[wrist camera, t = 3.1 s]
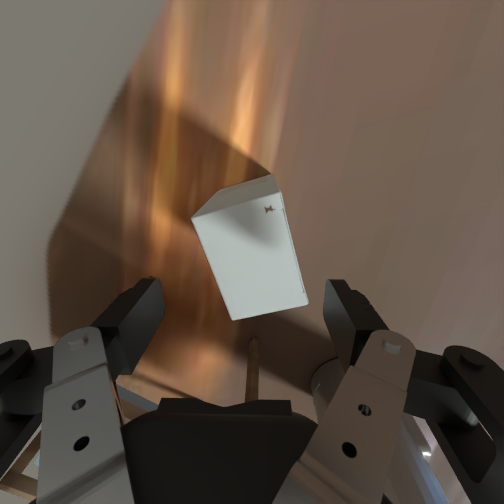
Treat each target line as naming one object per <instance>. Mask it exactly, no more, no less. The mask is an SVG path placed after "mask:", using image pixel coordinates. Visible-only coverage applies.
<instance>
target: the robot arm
mask: <svg viewBox="0 0 504 504" xmlns="http://www.w3.org/2000/svg"><path fill="white" fill-rule="evenodd" d="M164 313H165V304H164V298H163V293H162V287H161V282H160V280H159V279H158V278H142V279H141V280H140V281H139V282H138V283H137V284H136V285H135V286H134V287H133V288H130V289H128V290H127V291H125V292H123V293H122V294H120V295H119V296H118V297H117V298H116V299H115V300H114V303H111V304H110V306H109V307H108V308H107V309H106V310H105V311H104V312H103V313H102V314H101V315H100V316H99V317H98V318H97V319H96V320H95V321H94V322H93V323H92V324H91V325H90V327H83V328H79V329H76V330H73V331H71V332H69V333H67V334H65V335H64V336H62V337H61V338H60V339H59V340H58V341H57V342H56V343H55V345H54V346H51V347H46V348H41V349H36V350H31V347H30V345H29V343H28V342H27V341H26V340H12V341H8V342H4V343H2V344H0V478H1V477H2V476H3V474H4V473H5V471H6V470H7V469H8V468H9V466H10V465H11V464H12V462H13V461H14V459H15V458H16V457H17V455H18V454H19V453H20V451H21V450H22V448H23V447H24V446H25V444H26V443H27V441H28V440H29V439H30V438H31V436H32V435H33V434H34V432H35V431H36V430H37V428H38V427H39V425H40V424H41V423H42V428H41V442H40V457H39V472H38V486H37V497H36V498H35V499H34V500H33V501H31V502H30V503H29V504H450V503H449V501H448V499H447V497H446V496H445V494H444V492H443V490H442V488H441V486H440V484H439V482H438V480H437V479H436V477H435V475H434V473H433V471H432V469H431V467H430V465H429V464H428V460H429V458H430V456H431V448H430V446H429V444H428V442H427V440H426V439H425V437H424V435H423V433H422V432H421V430H420V428H419V426H418V425H417V423H416V421H415V419H414V418H413V416H416V417H420V418H423V419H425V420H426V422H427V424H428V426H429V427H430V429H431V431H432V433H433V435H434V436H435V438H436V440H437V442H438V444H439V446H440V447H441V449H442V451H443V453H444V455H445V456H446V458H447V460H448V462H449V464H450V465H451V467H452V469H453V471H454V473H455V474H456V476H457V478H458V480H459V482H460V483H461V485H462V487H463V489H464V491H465V492H466V494H467V496H468V498H469V500H470V502H471V503H472V504H504V371H503V370H502V369H501V368H500V367H499V366H498V365H497V364H496V363H495V362H494V361H493V360H491V359H490V358H489V357H487V356H486V355H484V354H482V353H480V352H478V351H476V350H473V349H471V348H468V347H464V346H457V345H453V346H449V347H447V348H446V349H445V350H444V353H443V356H441V355H437V354H433V353H428V352H424V351H420V350H417V349H415V346H414V345H413V343H412V342H411V341H410V340H409V339H407V338H406V337H404V336H403V335H401V334H399V333H396V332H393V331H390V330H389V328H388V327H387V326H386V324H385V323H384V322H383V320H382V319H381V317H380V316H379V315H378V313H377V312H376V311H375V309H374V308H373V306H372V305H370V302H369V301H368V299H367V298H366V297H365V296H364V295H363V294H361V293H360V292H358V291H357V290H351V289H350V287H349V286H348V284H347V283H346V281H345V280H335V279H328V280H327V282H326V288H325V296H324V304H323V316H324V321H325V323H326V326H327V329H328V331H329V334H330V337H331V339H332V342H333V344H334V347H335V350H336V352H337V355H338V357H339V358H338V359H334V360H331V361H329V362H327V363H325V364H324V365H322V366H321V367H320V368H319V369H318V370H317V371H316V372H315V373H314V375H313V377H312V380H311V390H312V395H313V402H314V406H315V410H316V415H317V420H318V424H317V423H315V422H314V421H313V420H311V419H309V418H307V417H305V416H303V415H301V414H298V413H295V412H292V409H291V401H290V400H254V401H250V402H246V403H241V404H237V405H233V406H229V407H221V406H218V405H214V404H211V403H207V402H204V401H200V400H197V399H193V398H161V401H160V403H159V406H158V408H157V410H153V411H150V412H147V413H145V414H143V415H140V416H138V417H136V418H134V419H133V420H131V421H129V422H128V423H126V421H125V417H124V413H123V409H122V404H121V400H120V396H119V392H118V388H117V384H116V381H115V380H116V379H117V377H118V375H131V374H132V372H133V370H134V369H135V367H136V365H137V363H138V362H139V360H140V358H141V356H142V355H143V353H144V351H145V349H146V348H147V346H148V344H149V342H150V340H151V339H152V337H153V335H154V333H155V332H156V330H157V328H158V326H159V325H160V323H161V321H162V319H163V317H164ZM412 415H413V416H412ZM479 421H480V422H481V424H482V425H483V426H484V428H485V429H486V430H487V432H488V433H489V434H490V436H491V438H492V439H493V441H492V439H491V438H490V437H489V435H488V434H487V433H486V431H485V430H484V429H483V427H482V426H481V425H480V423H479Z"/></svg>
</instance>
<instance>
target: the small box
mask: <svg viewBox="0 0 504 504" xmlns="http://www.w3.org/2000/svg"><path fill="white" fill-rule="evenodd" d="M191 221H192V223H193V226H194V228H195V231H196V233H197V236H198V238H199V241H200V243H201V246H202V248H203V251H204V253H205V256H206V258H207V261H208V263H209V265H210V268H211V270H212V273H213V275H214V278H215V280H216V283H217V285H218V288H219V290H220V293H221V295H222V298H223V300H224V303H225V305H226V308H227V310H228V313H229V315H230V318H231V320H237V319H243V318H248V317H252V316H257V315H261V314H266V313H271V312H275V311H280V310H285V309H289V308H294V307H299V306H304V305H307V304H308V298H307V295H306V292H305V288H304V284H303V281H302V277H301V273H300V269H299V265H298V261H297V257H296V253H295V249H294V245H293V242H292V238H291V233H290V229H289V225H288V221H287V217H286V213H285V208H284V203H283V198H282V193H281V191H280V189H279V187H278V184H277V182H276V180H275V178H274V176H273V175H272V174H270V175H266V176H263V177H260V178H256V179H253V180H250V181H246V182H243V183H240V184H236V185H233V186H230V187H226V188H223V189H220V190H218V191H217V192H216V193H215V194H214V195H213V196H212V197H211V198H210V199H209V200H208V201H207V202H206V203H205V204H204V205H203V206H202V207H201V208H200V209H199V210H198V211H197V212H196V213H195V214H194V215H193V216H192V217H191Z"/></svg>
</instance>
